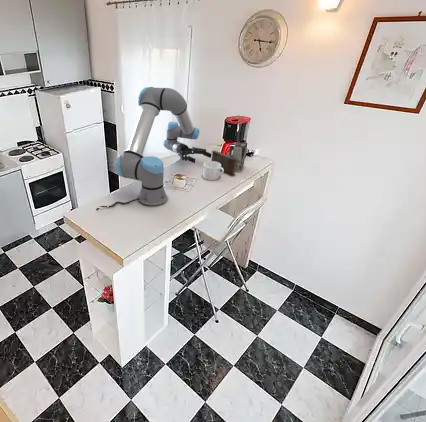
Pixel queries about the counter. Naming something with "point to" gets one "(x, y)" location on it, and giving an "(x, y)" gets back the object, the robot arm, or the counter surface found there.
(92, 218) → the counter surface
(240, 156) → the coffee box
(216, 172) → the mug
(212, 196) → the counter surface
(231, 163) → the wall board
